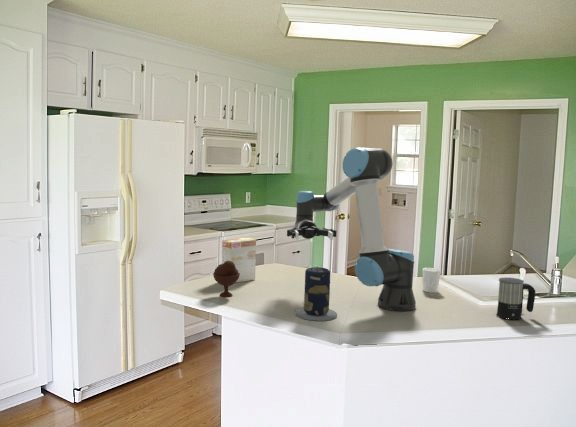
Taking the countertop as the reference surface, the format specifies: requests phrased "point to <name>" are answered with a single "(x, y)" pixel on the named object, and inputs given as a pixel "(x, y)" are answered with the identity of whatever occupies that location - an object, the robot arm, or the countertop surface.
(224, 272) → the ice cream bowl
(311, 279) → the canister
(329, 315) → the disc
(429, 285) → the white cup
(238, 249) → the coffeecake box
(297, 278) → the countertop surface
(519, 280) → the milk frother
